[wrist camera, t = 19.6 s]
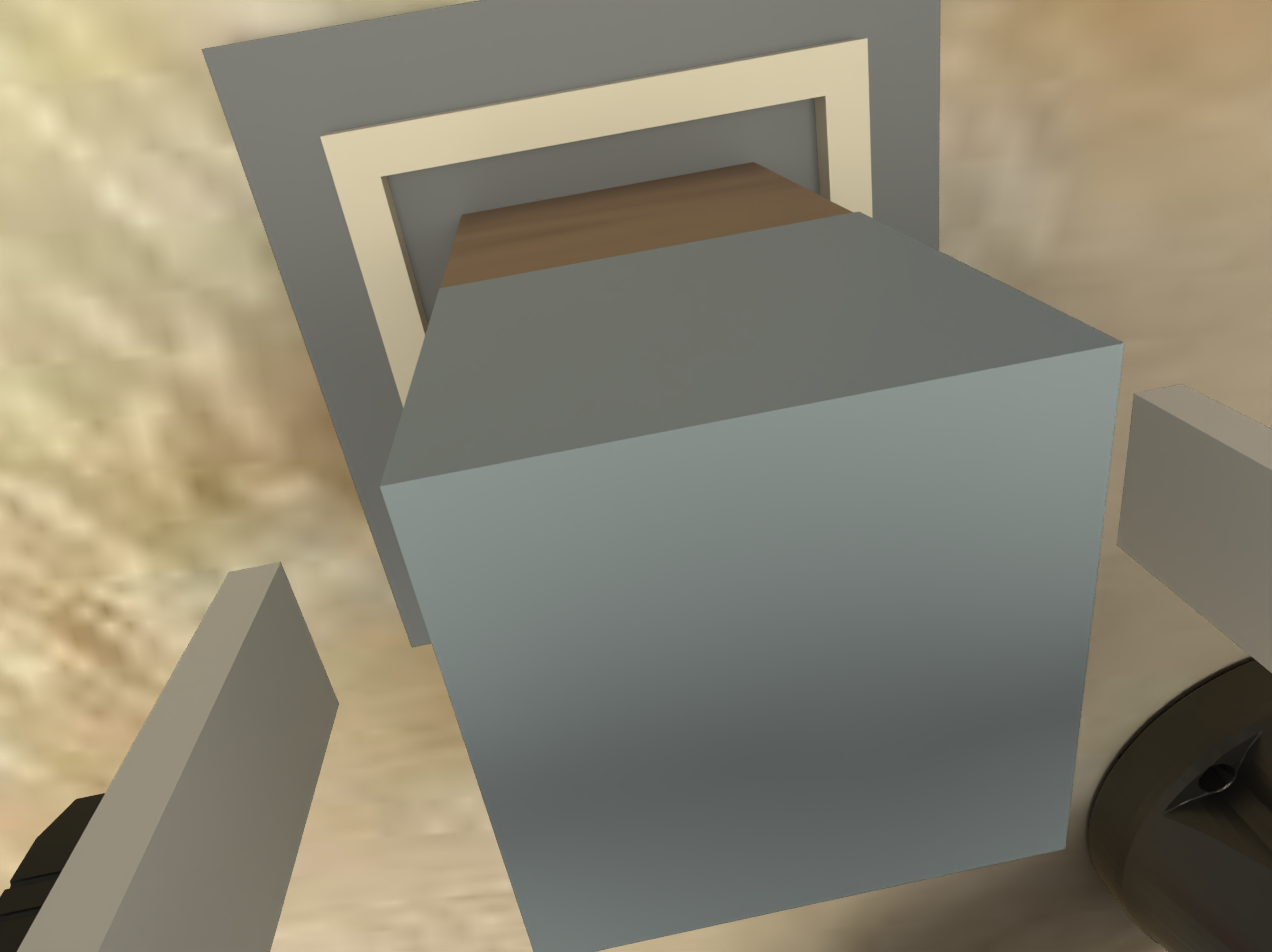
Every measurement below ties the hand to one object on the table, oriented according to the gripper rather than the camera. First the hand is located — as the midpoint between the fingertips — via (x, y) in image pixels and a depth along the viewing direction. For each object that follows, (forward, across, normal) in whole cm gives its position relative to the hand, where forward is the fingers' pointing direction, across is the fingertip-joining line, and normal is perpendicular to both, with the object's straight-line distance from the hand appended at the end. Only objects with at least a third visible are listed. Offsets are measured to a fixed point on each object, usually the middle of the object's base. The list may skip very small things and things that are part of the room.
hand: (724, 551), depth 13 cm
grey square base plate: (+12, 0, 0) cm, 12 cm away
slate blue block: (+3, 0, -1) cm, 3 cm away
